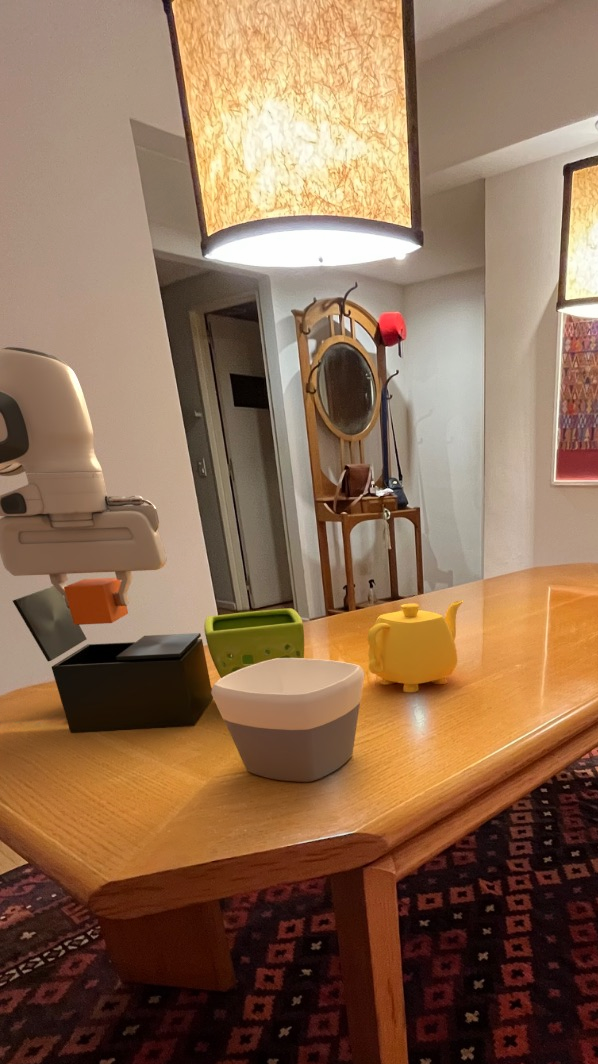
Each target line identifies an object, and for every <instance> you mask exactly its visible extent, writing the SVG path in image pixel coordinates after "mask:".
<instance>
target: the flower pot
mask: <svg viewBox="0 0 598 1064" xmlns="http://www.w3.org/2000/svg"><path fill="white" fill-rule="evenodd" d="M203 628H204V634H205V640H206V644H207V647H208V650H209V654H210V657H211V660H212V662H213V664H214V667H215V669H216V672H218V675H219V677H220V679H221V678H223V677H224V676H226V675H228V674H231V673H233V672H235V671H237V670H240V669H242V668H245V667H248V666H251V665H254V664H257V663H260V662H263V661H268V660H272V659H276V658H305V629H304V622H303V619H302V617H301V616H300V614H299V612H298V611H296V610H295V609H293V608H292V607H291V608H290V607H289V608H279V609H278V608H277V609H265V610H256V611H245V612H236V613H226V614H219V615H211V616H210V615H209V616H207V617H206V618H205V621H204V627H203Z"/></svg>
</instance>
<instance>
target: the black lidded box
mask: <svg viewBox="0 0 598 1064" xmlns="http://www.w3.org/2000/svg"><path fill="white" fill-rule="evenodd" d="M201 637H202V635H201V632H195V633H175V634H174V633H173V634H171V633H170V634H152V635H143V636H142V637H140V638H139V639H137V641H130V642H108V643H90V644H89V643H88V644H86V645H84V646H82V647H81V648H79V649H77V650H76V651H74V652H73V653H71V654H70V655H68V656H66V657H65V658H63V659H61V660H60V661H58V662H57V663H55V664H53V665H52V666H51V671H52V675H53V677H54V681H55V685H56V688H57V691H58V694H59V698H60V701H61V704H62V708H63V711H64V715H65V718H66V722H67V726H68V729H69V732H70V734H74V733H75V734H76V733H77V734H78V733H93V732H110V731H111V732H113V731H128V730H145V729H146V730H147V729H160V728H161V729H162V728H176V727H177V728H178V727H179V728H180V727H195V725H196V724H197V722H199V720H200V718H201V717H202V715H203V714H204V713H205V711H206V709H207V708H208V707H209V705H210V703H211V702H212V701H213V700H214V698H213V696H212V694H211V691H212V684H211V680H210V675H209V669H208V663H207V658H206V651H205V647H204V642H203V638H201Z"/></svg>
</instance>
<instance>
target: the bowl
mask: <svg viewBox="0 0 598 1064" xmlns="http://www.w3.org/2000/svg"><path fill="white" fill-rule="evenodd" d="M364 680H365V671H364V669H363V668H362V667H361V665H359V664H356V663H351V662H345V661H339V660H332V659H321V658H306V657H304V658H276V659H272V660H268V661H263V662H260V663H257V664H254V665H251V666H248V667H245V668H242V669H240V670H237V671H235V672H233V673H231V674H228V675H226V676H224V677H223V678H221V677H220V678H219V679H218V680H216V682H214V684H213V686H212V687H211V689H212V691H211V694H212V696H213V701H214V702H215V704H216V707H217V709H218V711H219V713H220V716H221V718H222V720H223V721H224V724H225V726H226V729H227V730H228V733H229V734H230V737H231V739H232V741H233V743H234V745H235V748H236V751H237V752H238V755H239V757H240V759H241V761H242V763H243V765H244V767H245V770H246V771H247V772H250V773H251V774H254V775H257V776H259V777H263V778H267V779H271V780H277V781H285V782H300V783H302V782H303V783H310V782H314V781H318V780H319V779H321V778H324V777H326V776H328V775H330V774H332V773H333V772H335V771H336V770H339V769H340V768H341V767H342V766H343V765H345V764H346V763H347V762H348V760H349V759H350V758H351V757H352V756H353V754H354V748H355V747H354V746H355V741H356V733H357V728H358V727H357V726H358V719H359V712H360V707H361V701H362V694H363V687H364Z"/></svg>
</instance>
